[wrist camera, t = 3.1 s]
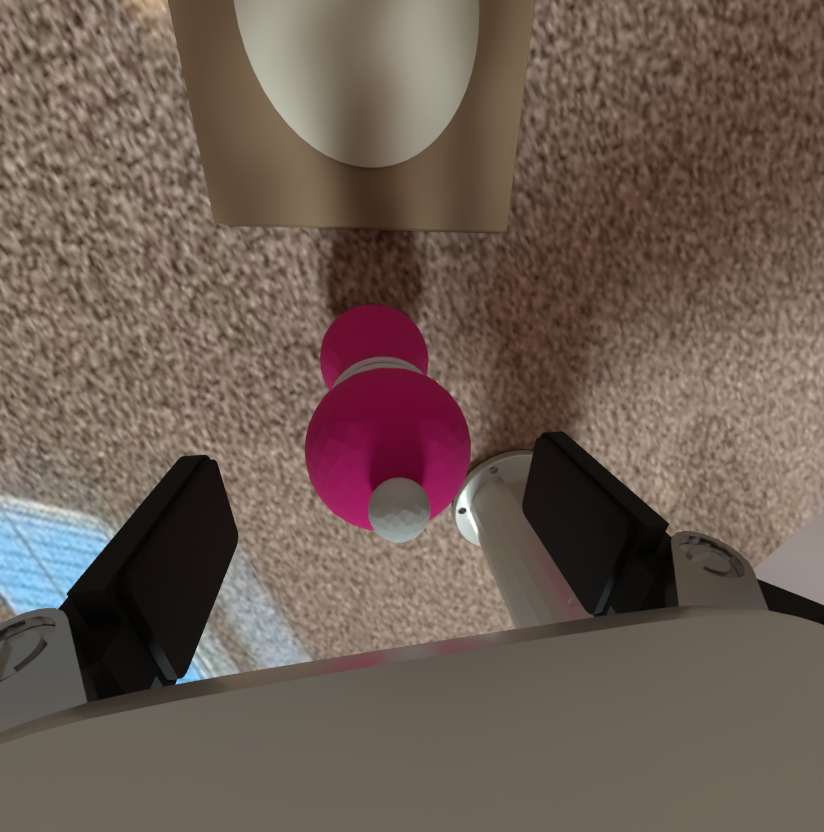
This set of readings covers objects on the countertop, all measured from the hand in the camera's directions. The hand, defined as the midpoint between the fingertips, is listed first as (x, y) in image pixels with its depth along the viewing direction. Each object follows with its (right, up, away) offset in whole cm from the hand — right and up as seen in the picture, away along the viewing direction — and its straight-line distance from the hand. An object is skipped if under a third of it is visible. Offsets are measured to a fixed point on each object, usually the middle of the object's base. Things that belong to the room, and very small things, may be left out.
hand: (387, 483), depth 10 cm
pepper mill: (-2, +8, +17) cm, 19 cm away
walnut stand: (-2, +23, +9) cm, 25 cm away
